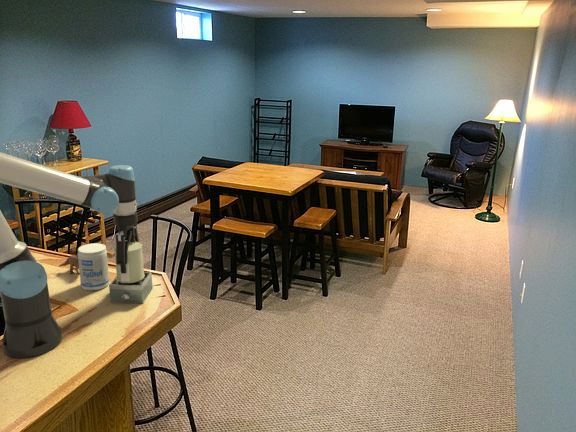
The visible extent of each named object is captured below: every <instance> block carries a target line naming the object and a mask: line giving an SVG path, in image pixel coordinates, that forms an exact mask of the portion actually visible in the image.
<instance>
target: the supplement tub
mask: <svg viewBox="0 0 576 432" xmlns="http://www.w3.org/2000/svg"><path fill="white" fill-rule="evenodd" d="M77 254H78V255H77V256H78V261H79V269H78V272H79V273H80V274H79V278H80V287H81V288H82V289H84V290H86V291H100V290H103V289H104V288H106V287H107V286H109V284H110V275H109V264H108V252H107V246H106V245H105V244H103V243H95V242H94V243H87V244H83V245H81V246H79V247H78V248H77Z"/></svg>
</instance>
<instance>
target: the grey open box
mask: <svg viewBox="0 0 576 432" xmlns="http://www.w3.org/2000/svg"><path fill="white" fill-rule="evenodd" d="M152 274H153V273H152V271H144V275H145V276H144V278H143V279H142V280H140V281H137V282H133V283H122V282H119V281H117V279H116V278H117V275H116V276H115V277H114V279H112V280H111V282H109V284H108V289H109V297H110V303H115V304H116V303H123V304H144V303H145V302H146V300H147V298H148V296H149V295H150V293H151V292H152V291H153V277H152Z"/></svg>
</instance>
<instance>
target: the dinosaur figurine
mask: <svg viewBox="0 0 576 432" xmlns="http://www.w3.org/2000/svg"><path fill="white" fill-rule="evenodd" d="M68 265H69V275H73V274H76V275H79V276H80V271H79V261H78V253H77V254H71V255H70V256H68V257H67V258H66V260H65V261H64V262H63V263H61V264H59V265H58V267H66V266H68ZM74 271H75V272H76V273H75V272H74Z"/></svg>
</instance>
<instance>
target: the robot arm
mask: <svg viewBox="0 0 576 432" xmlns="http://www.w3.org/2000/svg"><path fill="white" fill-rule="evenodd" d="M135 182H136V177H135V173H134V168H133V167H132V166H131V165H127V164H117V165H116V164H115V165H112V166H111V165H110V167H109V168H108V173H103V174H93V175H83V176H82V175H80V176H77V175H73V174H70V173H67V172H64V171H62V170H59V169H55V168H52V167H49V166H45V165H44V164H43V165H42V164H40V163H36V162H33V161H29V160H27V159H23V158H20V157H18V156H14V155H11V154H8V153H5V152H1V151H0V184H4V185H8V186H10V187H14V188H18V189H21V190H25V191H29V192H31V193H35V194H38V195H43V196H47V197H51V198H54V199H57V200H61V201H66V202H69V203H72V204H76V205H79V206H82V207H85V208H90V209H92V210H94V211H95V212H96V213H99V214H102V215H108V214H111V213H113V214H112V217H113V225H114V226H116V227H118V228H119V230H118V234H115V245H116V262H115V265H116V264H118V265H120V274H121V281H127V282H129V281H130V275H129V264H128V263H127V258H128V256H127V251H128V245H129V243H130V242H134V243H135V242H139V243H140V240H139V239H140V238H139V232H138V225H137V224H138V220H139V219H138V212H137V207H138V203H137V198H136V196H137V195H136V183H135ZM49 292H50V291H49V285H48V274H47V272H46V269H45V267H44V266H43V264H41V263H39V262H37V260H36V258H35V256H33V254H32V252H31V250H30V248H29V247H28V245H27V244H26V242H24V241H20V240H18V239H17V237H16V235H15V233H14V232H13V230H12V228H11V227H10V225H9V223H8V221H7V220H6V218H5V216H4V214H3V213H2V210H1V209H0V299H1V304H2V305H1V306H2V311H3V316H4V321H5V327H4V330H3V331H4V332H3V337H2V341H1V347H2V352H3V353H4V354H5V355H6V356H7V357H11V358H13V359H25V358H26V359H27V358H34V357H37V356H40V355H43V354H46V353H47V352H50V351H52V350H53V349H54V348H56V347H57V346H59V344H60V343H61V342H62V340H63V334H62V328H61V327H60V326H59V324H58V322H57V320H56V318H55V316H54V315H53V312H52V306H51V297H50V293H49Z"/></svg>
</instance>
